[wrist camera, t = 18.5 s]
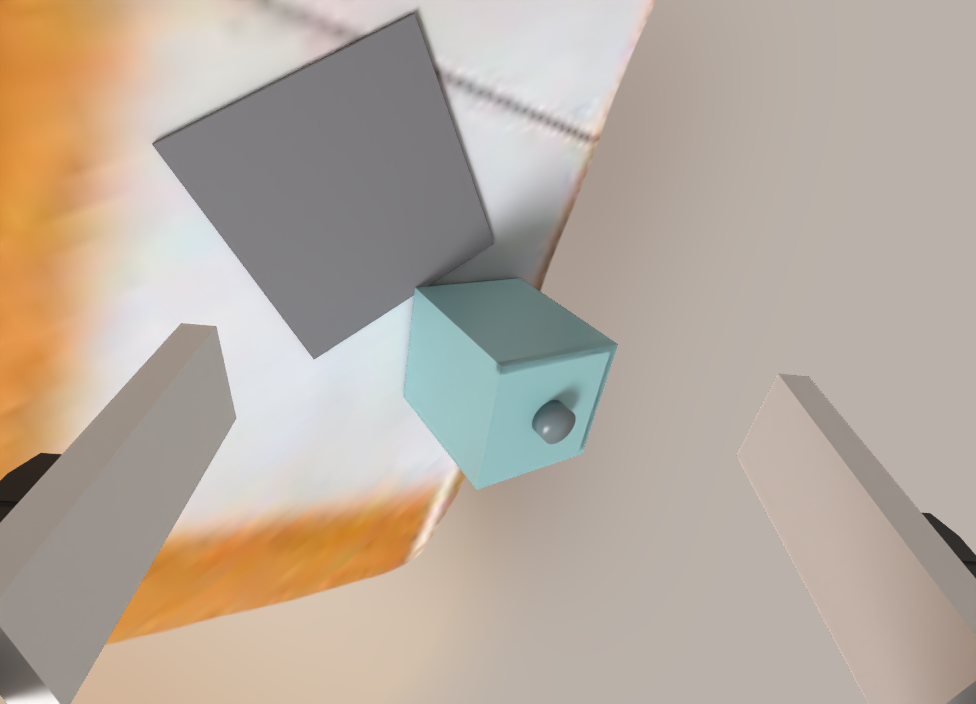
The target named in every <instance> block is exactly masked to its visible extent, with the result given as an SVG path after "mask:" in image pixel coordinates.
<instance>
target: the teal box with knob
mask: <svg viewBox="0 0 976 704" xmlns="http://www.w3.org/2000/svg"><path fill="white" fill-rule="evenodd" d="M617 345H618V344H617V343H615V342H614V341H612V340H611V339H609V338H608V337H607V336H605V335H604V334H602V333H601V332H599V331H598V330H596V329H595V328H593V327H592V326H590V325H589V324H587V323H586V322H584V321H583V320H581V319H580V318H578V317H577V316H576V315H574V314H573V313H571V312H570V311H568V310H567V309H565V308H564V307H562V306H561V305H559V304H558V303H556V302H555V301H553V300H552V299H550V298H549V297H547V296H546V295H544V294H543V293H542V292H540V291H539V290H537V289H536V288H534V287H533V286H531V285H530V284H528V283H527V282H525V281H524V280H522V279H521V278H518V279H506V280H495V281H484V282H473V283H461V284H450V285H439V286H428V287H416V288H415V293H414V302H413V311H412V321H411V330H410V340H409V349H408V358H407V368H406V377H405V387H404V396H403V397H404V398H405V399H406V400H407V402H408V403H409V404H410V406H411V407H412V408H413V409H414V411H415V412H416V413H417V414H418V416H419V417H420V418H421V420H422V421H423V422H424V423H425V425H426V426H427V427H428V429H429V430H430V431H431V432H432V434H433V435H434V436H435V437H436V439H437V440H438V441H439V443H440V444H441V445H442V446H443V448H444V449H445V450H446V451H447V453H448V454H449V455H450V457H451V458H452V459H453V460H454V462H455V463H456V464H457V466H458V467H459V468H460V469H461V471H462V472H463V473H464V474H465V476H466V477H467V478H468V479H469V481H470V482H471V483H472V485H473V486H474V487H475V488H476V490H477V489H480V488H483V487H486V486H489V485H492V484H495V483H498V482H501V481H504V480H507V479H510V478H512V477H515V476H518V475H521V474H524V473H527V472H530V471H533V470H536V469H539V468H542V467H545V466H548V465H551V464H553V463H556V462H559V461H563V460H565V459H568V458H571V457H574V456H577V455H580V454H582V453H583V450H584V447H585V444H586V441H587V438H588V435H589V431H590V429H591V426H592V423H593V420H594V416H595V413H596V410H597V407H598V404H599V401H600V398H601V395H602V392H603V389H604V386H605V382H606V379H607V376H608V373H609V370H610V367H611V364H612V361H613V358H614V354H615V351H616V348H617Z"/></svg>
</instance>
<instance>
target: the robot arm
mask: <svg viewBox="0 0 976 704" xmlns="http://www.w3.org/2000/svg"><path fill="white" fill-rule="evenodd" d="M235 420H236V415H235V410H234V406H233V401H232V397H231V392H230V387H229V383H228V378H227V374H226V369H225V364H224V360H223V355H222V350H221V346H220V341H219V337H218V332H217V327H216V326H207V325H195V324H183V323H181V324H180V325H179V326H178V327H177V329H176V330H175V331H174V332H173V333H172V334H171V335H170V336H169V337H168V338H167V340H166V341H165V342H164V343H163V344H162V345H161V346H160V347H159V348H158V349H157V351H156V352H155V353H154V354H153V355H152V356H151V357H150V358H149V359H148V361H147V362H146V363H145V364H144V365H143V366H142V367H141V368H140V369H139V370H138V372H137V373H136V374H135V375H134V376H133V377H132V378H131V379H130V380H129V381H128V383H127V384H126V385H125V386H124V387H123V388H122V389H121V390H120V391H119V392H118V394H117V395H116V396H115V397H114V398H113V399H112V400H111V401H110V402H109V403H108V405H107V406H106V407H105V408H104V409H103V410H102V411H101V412H100V413H99V414H98V416H97V417H96V418H95V419H94V420H93V421H92V422H91V423H90V424H89V426H88V427H87V428H86V429H85V430H84V431H83V432H82V433H81V434H80V435H79V437H78V438H77V439H76V440H75V441H74V442H73V443H72V444H71V445H70V446H69V448H68V449H67V450H66V451H65V452H64V453H63V454H48V453H40V454H38V455H37V456H35V457H33V458H32V459H30V460H29V461H27V462H25V463H24V464H22V465H21V466H19V467H17V468H16V469H14V470H13V471H11V472H9V473H8V474H7V475H6V476H5V477H4V478H3V479H2V480H1V481H0V695H1V697H2V698H3V699H4V700H5V701H6V702H7V703H8V704H71V702H72V700H73V699H74V697H75V695H76V693H77V692H78V690H79V688H80V687H81V685H82V683H83V681H84V680H85V678H86V676H87V675H88V673H89V671H90V669H91V668H92V666H93V664H94V662H95V661H96V659H97V657H98V656H99V654H100V652H101V650H102V649H103V647H104V645H105V644H106V642H107V640H108V638H109V637H110V635H111V633H112V631H113V630H114V628H115V626H116V625H117V623H118V621H119V619H120V618H121V616H122V614H123V613H124V611H125V609H126V607H127V606H128V604H129V602H130V600H131V599H132V597H133V595H134V594H135V592H136V590H137V588H138V587H139V585H140V583H141V582H142V580H143V578H144V576H145V575H146V573H147V571H148V569H149V568H150V566H151V564H152V563H153V561H154V559H155V557H156V556H157V554H158V552H159V551H160V549H161V547H162V545H163V544H164V542H165V540H166V538H167V537H168V535H169V533H170V532H171V530H172V528H173V526H174V525H175V523H176V521H177V520H178V518H179V516H180V514H181V513H182V511H183V509H184V507H185V506H186V504H187V502H188V501H189V499H190V497H191V495H192V494H193V492H194V490H195V489H196V487H197V485H198V483H199V482H200V480H201V478H202V476H203V475H204V473H205V471H206V470H207V468H208V466H209V464H210V463H211V461H212V459H213V457H214V456H215V454H216V452H217V451H218V449H219V447H220V445H221V444H222V442H223V440H224V439H225V437H226V435H227V433H228V432H229V430H230V428H231V426H232V425H233V423H234V421H235ZM736 456H737V458H738V460H739V462H740V464H741V466H742V468H743V469H744V471H745V473H746V475H747V477H748V479H749V481H750V483H751V485H752V487H753V488H754V490H755V492H756V494H757V496H758V498H759V500H760V502H761V503H762V505H763V507H764V509H765V511H766V513H767V515H768V516H769V519H770V520H771V522H772V524H773V526H774V528H775V530H776V532H777V534H778V535H779V537H780V539H781V541H782V543H783V544H784V547H785V549H786V551H787V552H788V554H789V556H790V558H791V560H792V561H793V564H794V566H795V567H796V569H797V571H798V573H799V575H800V577H801V579H802V581H803V582H804V584H805V586H806V588H807V590H808V592H809V594H810V595H811V597H812V599H813V601H814V603H815V605H816V607H817V609H818V611H819V613H820V614H821V616H822V618H823V620H824V622H825V624H826V626H827V628H828V630H829V631H830V633H831V635H832V637H833V639H834V641H835V643H836V645H837V647H838V648H839V650H840V652H841V654H842V656H843V658H844V660H845V662H846V663H847V665H848V667H849V669H850V671H851V673H852V675H853V676H854V678H855V680H856V682H857V684H858V686H859V688H860V690H861V692H862V694H863V695H864V697H865V699H866V701H867V703H868V704H976V555H975V554H974V553H973V552H972V550H971V549H970V548H969V547H968V546H967V545H966V544H965V542H964V541H963V540H962V539H961V538H960V537H959V536H958V535H957V534H956V533H954V532H953V531H952V530H951V529H949V528H948V527H947V526H946V525H944V524H943V523H942V522H940V521H939V520H938V519H937V518H936V517H934V516H933V515H932V514H930V513H921V512H920V511H919V509H918V508H917V507H916V506H915V505H914V503H913V502H912V501H911V500H910V499H909V497H908V496H907V495H906V494H905V493H904V491H903V490H902V489H901V488H900V486H899V485H898V484H897V483H896V482H895V481H894V479H893V478H892V477H891V475H890V474H889V473H888V472H887V471H886V469H885V468H884V467H883V466H882V465H881V464H880V462H879V461H878V460H877V459H876V457H875V456H874V455H873V454H872V452H871V451H870V450H869V449H868V448H867V446H866V445H865V444H864V443H863V442H862V440H861V439H860V438H859V437H858V436H857V434H856V433H855V432H854V431H853V429H852V428H851V427H850V426H849V425H848V423H847V422H846V421H845V420H844V419H843V417H842V416H841V415H840V414H839V413H838V411H837V410H836V409H835V408H834V406H833V405H832V404H831V403H830V402H829V401H828V399H827V398H826V397H825V396H824V394H823V393H822V392H821V391H820V390H819V388H818V387H817V386H816V385H815V383H814V382H813V381H812V380H811V379H810V377H809V376H797V375H786V374H778V375H777V377H776V379H775V381H774V383H773V385H772V387H771V389H770V391H769V393H768V395H767V396H766V399H765V400H764V403H763V404H762V406H761V408H760V410H759V412H758V414H757V416H756V418H755V420H754V422H753V424H752V426H751V428H750V430H749V432H748V434H747V436H746V438H745V439H744V441H743V443H742V445H741V447H740V449H739V451H738V453H737V455H736Z"/></svg>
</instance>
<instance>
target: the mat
mask: <svg viewBox="0 0 976 704" xmlns="http://www.w3.org/2000/svg"><path fill="white" fill-rule="evenodd" d="M152 144H153V146H154V147H155V149H156V150H157V151H158V153H159V154H160V155H161V157H162V158H163V159H164V161H165V162H166V163H167V165H168V166H169V167H170V169H171V170H172V171H173V173H174V174H175V175H176V177H177V178H178V179H179V181H180V182H181V183H182V185H183V186H184V187H185V189H186V190H187V191H188V193H189V194H190V195H191V196H192V198H193V199H194V200H195V202H196V203H197V204H198V206H199V207H200V208H201V210H202V211H203V212H204V214H205V215H206V216H207V218H208V219H209V220H210V222H211V223H212V224H213V226H214V227H215V228H216V230H217V231H218V232H219V234H220V235H221V236H222V238H223V239H224V240H225V242H226V243H227V244H228V246H229V247H230V248H231V250H232V251H233V252H234V254H235V255H236V256H237V258H238V259H239V260H240V262H241V263H242V264H243V266H244V267H245V268H246V270H247V271H248V272H249V274H250V275H251V276H252V278H253V279H254V280H255V282H256V283H257V284H258V286H259V287H260V288H261V290H262V291H263V292H264V294H265V295H266V296H267V298H268V299H269V300H270V302H271V303H272V304H273V306H274V307H275V308H276V310H277V311H278V312H279V314H280V315H281V316H282V318H283V319H284V320H285V322H286V323H287V324H288V326H289V327H290V328H291V330H292V331H293V332H294V334H295V335H296V336H297V338H298V339H299V340H300V342H301V343H302V344H303V345H304V347H305V348H306V349H307V351H308V352H309V353H310V355H311V356H312V357H313V359H316V358H317V357H319V356H320V355H322V354H323V353H325V352H326V351H328V350H330V349H331V348H333V347H334V346H336V345H337V344H339V343H340V342H342V341H343V340H345V339H347V338H348V337H350V336H351V335H353V334H354V333H356V332H357V331H359V330H361V329H362V328H364V327H365V326H367V325H368V324H370V323H371V322H373V321H375V320H376V319H378V318H379V317H381V316H382V315H384V314H385V313H387V312H388V311H390V310H392V309H393V308H395V307H396V306H398V305H399V304H401V303H402V302H404V301H406V300H407V299H409V298H410V297H412V296H413V295H414V293H415V288H416V287H427V286H429V285H430V284H432V283H433V282H435V281H437V280H438V279H440V278H441V277H443V276H444V275H446V274H447V273H449V272H451V271H452V270H454V269H455V268H457V267H458V266H460V265H461V264H463V263H464V262H466V261H468V260H469V259H471V258H472V257H474V256H475V255H477V254H478V253H480V252H482V251H483V250H485V249H486V248H488V247H489V246H491V245H492V244H494V241H493V238H492V235H491V232H490V229H489V227H488V224H487V221H486V218H485V215H484V212H483V209H482V206H481V203H480V201H479V198H478V195H477V192H476V189H475V186H474V183H473V180H472V177H471V175H470V172H469V169H468V166H467V163H466V160H465V157H464V154H463V152H462V149H461V146H460V143H459V140H458V137H457V134H456V131H455V128H454V126H453V123H452V120H451V117H450V114H449V111H448V108H447V105H446V103H445V100H444V97H443V94H442V91H441V88H440V85H439V82H438V79H437V77H436V74H435V71H434V68H433V65H432V62H431V59H430V56H429V54H428V51H427V48H426V45H425V42H424V39H423V36H422V33H421V30H420V28H419V25H418V22H417V19H416V16H415V14H410V15H408V16H406V17H404V18H402V19H400V20H398V21H396V22H394V23H392V24H390V25H388V26H386V27H384V28H382V29H380V30H378V31H376V32H374V33H372V34H370V35H368V36H366V37H364V38H362V39H360V40H358V41H356V42H354V43H352V44H350V45H348V46H346V47H344V48H342V49H340V50H338V51H336V52H334V53H332V54H330V55H328V56H326V57H324V58H322V59H320V60H318V61H316V62H314V63H312V64H310V65H308V66H306V67H304V68H302V69H300V70H298V71H296V72H294V73H292V74H290V75H288V76H286V77H284V78H282V79H280V80H278V81H276V82H274V83H272V84H270V85H268V86H266V87H264V88H262V89H260V90H258V91H256V92H254V93H252V94H250V95H248V96H246V97H244V98H242V99H240V100H238V101H236V102H234V103H232V104H230V105H228V106H226V107H224V108H222V109H220V110H218V111H216V112H214V113H212V114H210V115H208V116H206V117H204V118H202V119H200V120H198V121H196V122H194V123H192V124H190V125H188V126H186V127H184V128H182V129H180V130H178V131H176V132H174V133H172V134H170V135H168V136H166V137H164V138H162V139H160V140H158V141H156V142H154V143H152Z"/></svg>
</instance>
